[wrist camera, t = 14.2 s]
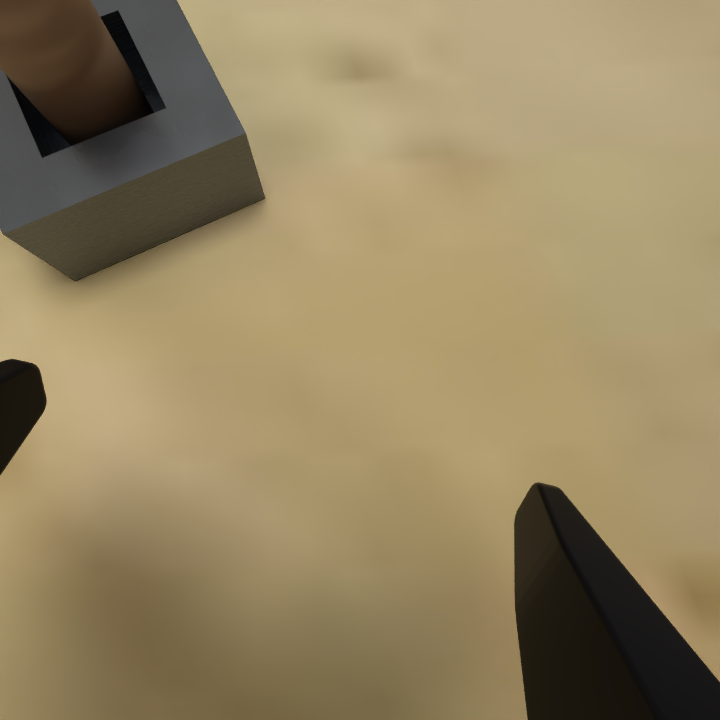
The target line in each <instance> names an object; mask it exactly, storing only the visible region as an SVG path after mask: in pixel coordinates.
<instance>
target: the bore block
mask: <svg viewBox="0 0 720 720" xmlns="http://www.w3.org/2000/svg"><path fill="white" fill-rule="evenodd" d="M91 2H92V3H93V5H94V7H95V9H96V10H97V12H98V14H99V16H100V17H101V19H102V21H103V23H104V25H105V26H106V28H107V30H108V32H109V33H110V35H111V37H112V39H113V40H114V42H115V44H116V46H117V47H118V49H119V51H120V53H121V54H122V56H123V58H124V60H125V61H126V63H127V65H128V67H129V68H130V70H131V72H132V74H133V75H134V77H135V79H136V81H137V82H138V84H139V86H140V88H141V89H142V91H143V93H144V95H145V97H146V98H147V100H148V102H149V104H150V105H151V107H152V109H153V111H154V112H155V113H153V114H150V115H148V116H145V117H143V118H140V119H138V120H136V121H133V122H131V123H128V124H126V125H123V126H121V127H118V128H116V129H113V130H111V131H108V132H106V133H103V134H101V135H98V136H96V137H93V138H91V139H88V140H86V141H83V142H81V143H78V144H76V145H73V146H71V145H70V144H69V143H68V142H67V141H66V140H65V139H64V138H63V137H62V136H61V134H60V133H59V132H58V131H57V130H56V129H55V128H54V127H53V126H52V125H51V123H50V122H49V121H48V120H47V119H46V118H45V117H44V116H43V115H42V114H41V113H40V111H39V110H38V109H37V108H36V107H35V106H34V105H33V104H32V103H31V102H30V100H29V99H28V98H27V97H26V96H25V95H24V94H23V93H22V92H21V91H20V90H19V88H18V87H17V86H16V85H15V84H14V83H13V82H12V81H11V80H10V79H9V77H8V76H7V75H6V74H5V73H4V72H3V71H2V70H1V69H0V229H1V231H2V234H3V235H5V236H6V237H8V238H9V239H11V240H12V241H14V242H16V243H17V244H19V245H20V246H22V247H23V248H25V249H26V250H28V251H29V252H31V253H33V254H34V255H36V256H37V257H39V258H40V259H42V260H43V261H45V262H46V263H48V264H50V265H51V266H53V267H54V268H56V269H57V270H59V271H60V272H62V273H63V274H65V275H67V276H68V277H70V278H71V279H73V280H74V281H76V280H79V279H81V278H83V277H86V276H88V275H90V274H93V273H95V272H97V271H99V270H102V269H104V268H106V267H109V266H111V265H113V264H115V263H118V262H120V261H122V260H125V259H127V258H129V257H131V256H134V255H136V254H138V253H141V252H143V251H145V250H147V249H150V248H152V247H154V246H157V245H159V244H161V243H163V242H166V241H168V240H170V239H173V238H175V237H177V236H180V235H182V234H184V233H186V232H189V231H191V230H193V229H196V228H198V227H200V226H202V225H205V224H207V223H209V222H212V221H214V220H216V219H218V218H221V217H223V216H225V215H228V214H230V213H232V212H234V211H237V210H239V209H241V208H244V207H246V206H248V205H250V204H253V203H255V202H257V201H260V200H262V199H264V198H265V196H264V193H263V189H262V186H261V183H260V179H259V176H258V173H257V169H256V166H255V163H254V159H253V156H252V153H251V149H250V146H249V142H248V139H247V136H246V133H245V131H244V129H243V127H242V125H241V123H240V121H239V119H238V117H237V115H236V113H235V112H234V110H233V108H232V106H231V104H230V102H229V100H228V98H227V96H226V94H225V92H224V90H223V88H222V87H221V85H220V83H219V81H218V79H217V77H216V75H215V73H214V71H213V69H212V67H211V65H210V63H209V62H208V60H207V58H206V56H205V54H204V52H203V50H202V48H201V46H200V44H199V42H198V40H197V38H196V36H195V35H194V33H193V31H192V29H191V27H190V25H189V23H188V21H187V19H186V17H185V15H184V13H183V11H182V10H181V8H180V6H179V4H178V2H177V0H91Z"/></svg>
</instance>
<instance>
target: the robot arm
mask: <svg viewBox="0 0 720 720" xmlns="http://www.w3.org/2000/svg"><path fill="white" fill-rule="evenodd" d="M46 401H47V400H46V394H45V390H44V386H43V382H42V377H41V373H40V370H39V368H38V367H37V366H36V365H35V364H33V363H29V362H25V361H20V360H16V359H9V360H5V361H2V362H0V475H1V474H2V472H3V471H4V469H5V468H6V466H7V465H8V463H9V462H10V461H11V459H12V458H13V456H14V455H15V453H16V452H17V450H18V449H19V447H20V446H21V444H22V443H23V442H24V440H25V439H26V437H27V436H28V434H29V433H30V431H31V430H32V428H33V427H34V425H35V424H36V423H37V421H38V420H39V418H40V417H41V415H42V414H43V412H44V410H45V407H46ZM514 564H515V612H516V623H517V631H518V640H519V649H520V657H521V666H522V675H523V683H524V692H525V700H526V709H527V718H528V720H720V682H719V681H718V679H717V678H716V677H715V676H714V675H713V673H712V672H711V671H710V670H709V669H708V667H707V666H706V665H705V664H704V662H703V661H702V660H701V659H700V658H699V656H698V655H697V654H696V653H695V652H694V650H693V649H692V648H691V647H690V645H689V644H688V643H687V642H686V641H685V639H684V638H683V637H682V636H681V635H680V633H679V632H678V631H677V630H676V628H675V627H674V626H673V625H672V624H671V622H670V621H669V620H668V619H667V618H666V616H665V615H664V614H663V613H662V611H661V610H660V609H659V608H658V607H657V605H656V604H655V603H654V602H653V601H652V599H651V598H650V597H649V596H648V594H647V593H646V592H645V591H644V590H643V588H642V587H641V586H640V585H639V584H638V582H637V581H636V580H635V579H634V577H633V576H632V575H631V574H630V573H629V571H628V570H627V569H626V568H625V567H624V565H623V564H622V563H621V562H620V560H619V559H618V558H617V557H616V556H615V554H614V553H613V552H612V551H611V550H610V548H609V547H608V546H607V545H606V543H605V542H604V541H603V540H602V539H601V537H600V536H599V535H598V534H597V533H596V531H595V530H594V529H593V528H592V526H591V525H590V524H589V523H588V522H587V520H586V519H585V518H584V517H583V516H582V514H581V513H580V512H579V511H578V509H577V508H576V507H575V506H574V505H573V503H572V502H571V501H570V500H569V499H568V497H567V496H566V495H565V494H564V492H563V491H562V490H561V489H560V488H558V487H556V486H552V485H548V484H543V483H534V484H533V485H532V486H531V488H530V489H529V491H528V493H527V495H526V496H525V498H524V500H523V501H522V503H521V505H520V507H519V508H518V510H517V513H516V516H515V522H514Z"/></svg>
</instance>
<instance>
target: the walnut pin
mask: <svg viewBox="0 0 720 720" xmlns="http://www.w3.org/2000/svg"><path fill="white" fill-rule="evenodd" d="M0 69H1V70H2V71H3V72H4V73H5V74H6V75H7V76H8V77H9V79H10V80H11V81H12V82H13V83H14V84H15V85H16V86H17V87H18V88H19V90H20V91H21V92H22V93H23V94H24V95H25V96H26V97H27V98H28V99H29V100H30V102H31V103H32V104H33V105H34V106H35V107H36V108H37V109H38V110H39V111H40V113H41V114H42V115H43V116H44V117H45V118H46V119H47V120H48V121H49V122H50V123H51V125H52V126H53V127H54V128H55V129H56V130H57V131H58V132H59V133H60V134H61V136H62V137H63V138H64V139H65V140H66V141H67V142H68V143H69V144H70V145H71V146H73V145H76V144H78V143H81V142H83V141H86V140H88V139H91V138H93V137H96V136H98V135H101V134H103V133H106V132H108V131H111V130H113V129H116V128H118V127H121V126H123V125H126V124H128V123H131V122H133V121H136V120H138V119H140V118H143V117H145V116H148V115H150V114H153V113H155V112H154V111H153V109H152V107H151V105H150V104H149V102H148V100H147V98H146V97H145V95H144V93H143V91H142V89H141V88H140V86H139V84H138V82H137V81H136V79H135V77H134V75H133V74H132V72H131V70H130V68H129V67H128V65H127V63H126V61H125V60H124V58H123V56H122V54H121V53H120V51H119V49H118V47H117V46H116V44H115V42H114V40H113V39H112V37H111V35H110V33H109V32H108V30H107V28H106V26H105V25H104V23H103V21H102V19H101V17H100V16H99V14H98V12H97V10H96V9H95V7H94V5H93V3H92V2H91V0H0Z"/></svg>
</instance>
